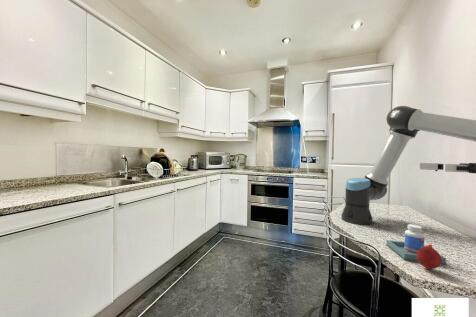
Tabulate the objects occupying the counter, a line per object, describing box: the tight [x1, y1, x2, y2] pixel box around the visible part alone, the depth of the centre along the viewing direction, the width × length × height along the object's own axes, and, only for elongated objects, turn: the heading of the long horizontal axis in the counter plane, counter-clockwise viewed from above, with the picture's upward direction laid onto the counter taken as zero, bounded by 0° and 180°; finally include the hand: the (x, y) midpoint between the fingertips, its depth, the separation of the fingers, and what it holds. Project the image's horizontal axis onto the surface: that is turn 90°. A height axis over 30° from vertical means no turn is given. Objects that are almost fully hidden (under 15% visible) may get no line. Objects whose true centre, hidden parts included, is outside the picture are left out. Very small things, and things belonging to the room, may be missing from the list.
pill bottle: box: [404, 223, 425, 254], centre depth 75 cm, size 6×5×10 cm
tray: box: [386, 239, 447, 266], centre depth 75 cm, size 12×12×2 cm
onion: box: [416, 243, 442, 271], centre depth 64 cm, size 6×6×8 cm
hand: (430, 166), depth 80 cm, fingers open, 13 cm apart
